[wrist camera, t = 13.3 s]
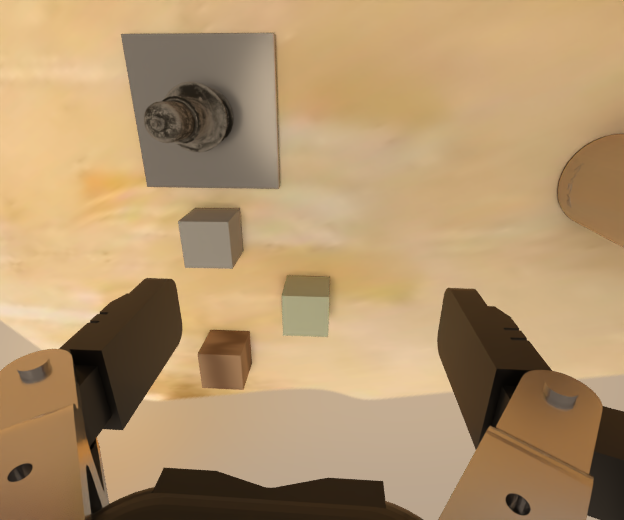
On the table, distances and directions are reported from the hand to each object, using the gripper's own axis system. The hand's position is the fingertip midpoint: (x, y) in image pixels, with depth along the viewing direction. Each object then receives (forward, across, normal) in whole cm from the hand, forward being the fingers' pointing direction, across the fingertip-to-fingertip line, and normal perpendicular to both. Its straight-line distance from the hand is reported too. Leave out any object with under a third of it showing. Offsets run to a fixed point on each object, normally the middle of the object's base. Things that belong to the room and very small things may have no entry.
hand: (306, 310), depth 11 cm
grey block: (+30, +12, +8) cm, 33 cm away
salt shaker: (+29, +12, -4) cm, 32 cm away
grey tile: (+30, +12, -4) cm, 32 cm away
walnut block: (+30, +12, +24) cm, 40 cm away
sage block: (+30, +2, +16) cm, 34 cm away
